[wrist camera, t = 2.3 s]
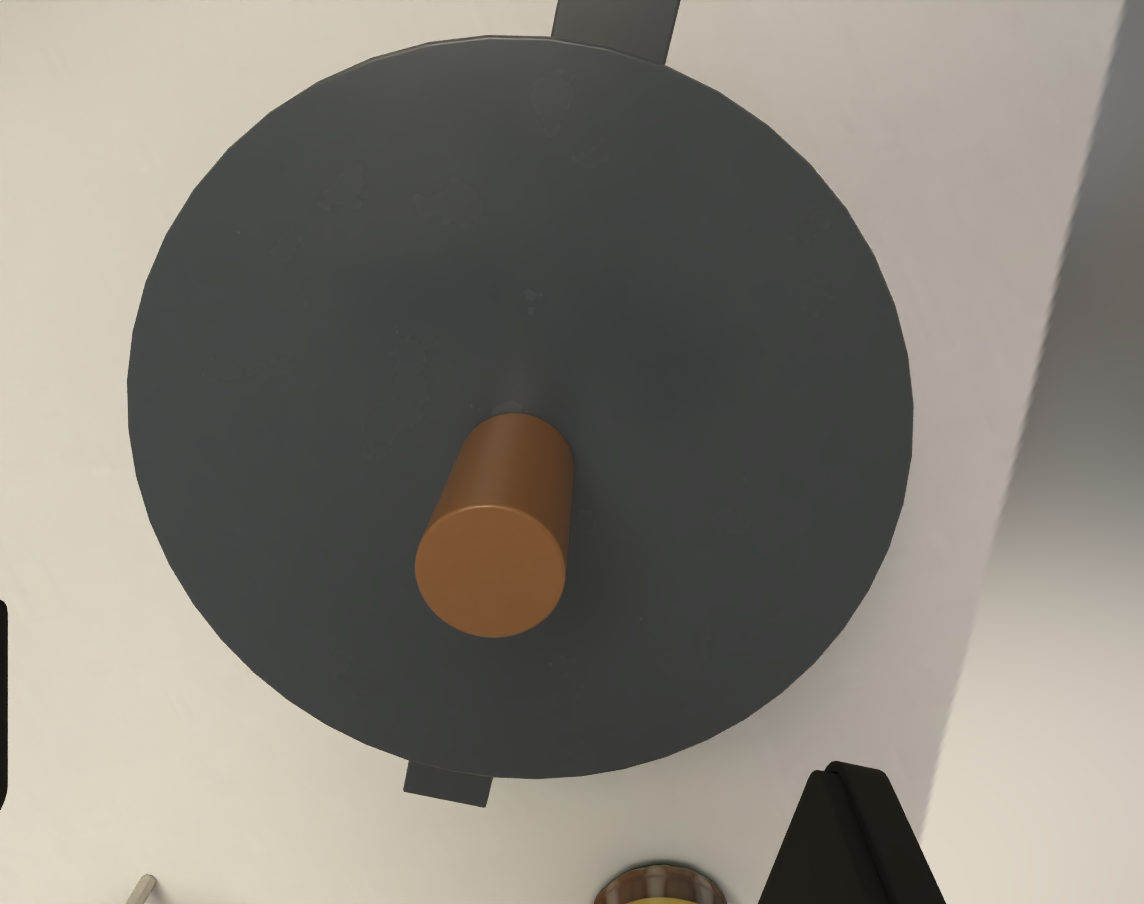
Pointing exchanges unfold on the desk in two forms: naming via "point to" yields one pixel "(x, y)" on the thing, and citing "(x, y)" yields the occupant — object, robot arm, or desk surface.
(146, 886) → the lollipop
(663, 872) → the sauce bottle
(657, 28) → the pot
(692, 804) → the desk surface
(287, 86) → the desk surface
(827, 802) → the robot arm
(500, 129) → the lid
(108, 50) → the desk surface
